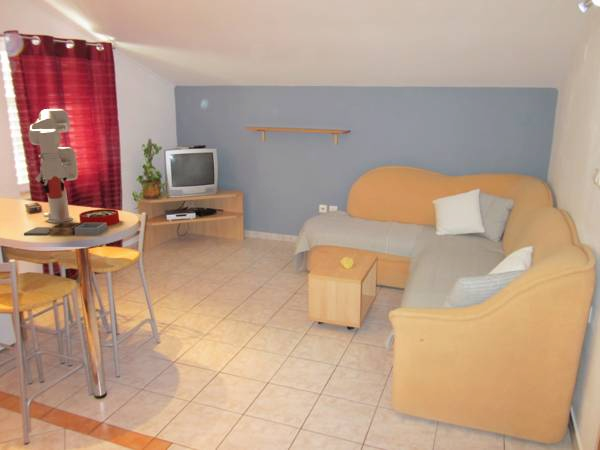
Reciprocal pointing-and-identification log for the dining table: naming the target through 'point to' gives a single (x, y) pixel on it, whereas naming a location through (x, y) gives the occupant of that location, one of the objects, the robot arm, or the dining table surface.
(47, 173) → the robot arm
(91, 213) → the red round tin
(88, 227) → the slate frame
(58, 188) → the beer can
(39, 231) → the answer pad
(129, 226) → the dining table surface
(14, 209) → the dining table surface
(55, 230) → the walnut frame
